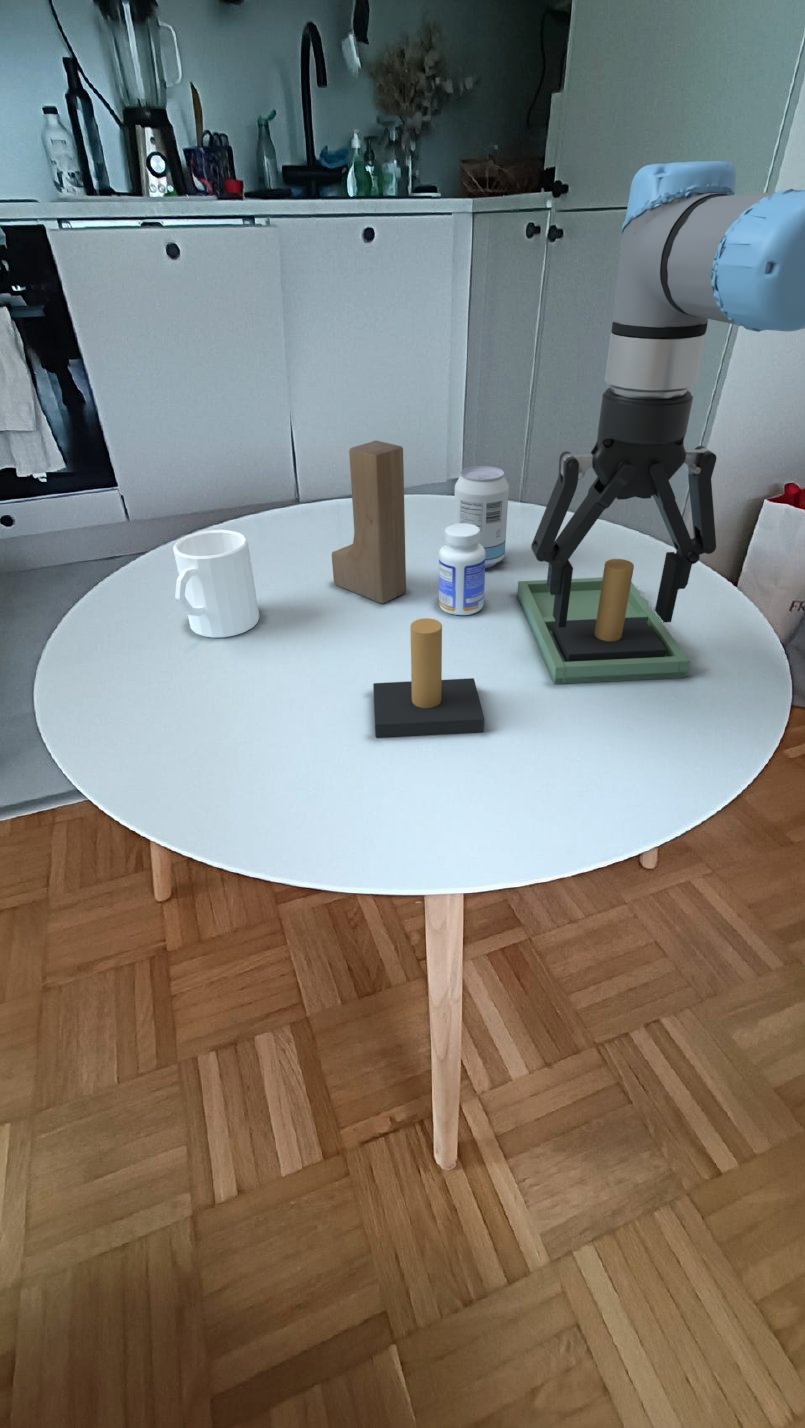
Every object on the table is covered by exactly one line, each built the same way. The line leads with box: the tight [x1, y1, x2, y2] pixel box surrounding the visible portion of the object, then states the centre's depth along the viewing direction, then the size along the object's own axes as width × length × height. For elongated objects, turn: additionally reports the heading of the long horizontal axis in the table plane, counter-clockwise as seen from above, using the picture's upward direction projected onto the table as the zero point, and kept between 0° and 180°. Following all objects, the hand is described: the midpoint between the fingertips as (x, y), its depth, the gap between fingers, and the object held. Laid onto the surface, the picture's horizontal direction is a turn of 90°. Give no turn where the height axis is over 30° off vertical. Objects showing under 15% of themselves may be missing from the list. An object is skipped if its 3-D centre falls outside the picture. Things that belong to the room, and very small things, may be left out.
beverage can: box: [453, 465, 510, 569], centre depth 94 cm, size 7×7×12 cm
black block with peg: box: [372, 617, 485, 738], centre depth 66 cm, size 7×10×10 cm
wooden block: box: [331, 440, 407, 604], centre depth 86 cm, size 9×4×18 cm, turn 47°
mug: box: [172, 529, 260, 639], centre depth 81 cm, size 8×12×10 cm
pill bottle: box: [438, 523, 486, 616], centre depth 84 cm, size 5×5×10 cm
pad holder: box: [516, 576, 691, 685], centre depth 80 cm, size 20×14×2 cm
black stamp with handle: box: [552, 558, 666, 662], centre depth 74 cm, size 7×10×10 cm
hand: (611, 618), depth 74 cm, fingers open, 10 cm apart
